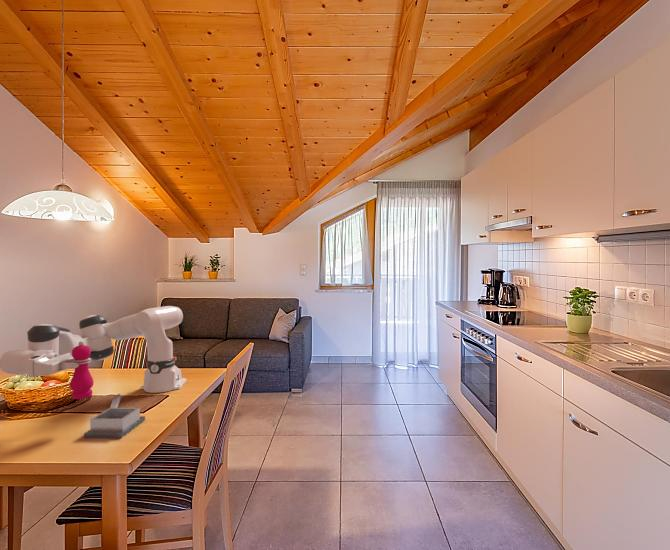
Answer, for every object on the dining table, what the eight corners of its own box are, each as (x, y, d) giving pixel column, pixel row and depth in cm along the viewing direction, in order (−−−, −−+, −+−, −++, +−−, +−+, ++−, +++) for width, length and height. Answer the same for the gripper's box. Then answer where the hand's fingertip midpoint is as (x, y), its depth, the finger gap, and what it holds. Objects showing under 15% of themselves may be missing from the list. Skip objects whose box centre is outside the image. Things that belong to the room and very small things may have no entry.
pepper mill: (84, 392, 151) (83, 338, 151) (98, 394, 149) (97, 340, 148) (65, 398, 145) (64, 342, 144) (79, 400, 142) (78, 343, 141)
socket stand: (111, 419, 155) (111, 405, 155) (145, 420, 154) (144, 406, 154) (84, 437, 139) (83, 422, 139) (121, 438, 138) (120, 422, 138)
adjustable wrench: (115, 398, 176) (113, 395, 176) (130, 394, 178) (129, 390, 178) (100, 424, 153) (98, 420, 152) (118, 419, 154) (117, 415, 154)
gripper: (67, 364, 157) (101, 364, 157) (24, 379, 137) (64, 379, 136) (66, 347, 157) (101, 348, 156) (24, 360, 137) (64, 360, 136)
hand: (84, 362), depth 146 cm, fingers closed on pepper mill, 5 cm apart
